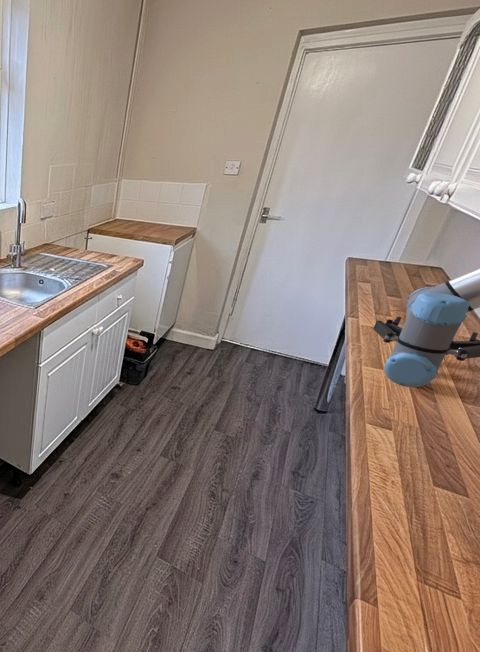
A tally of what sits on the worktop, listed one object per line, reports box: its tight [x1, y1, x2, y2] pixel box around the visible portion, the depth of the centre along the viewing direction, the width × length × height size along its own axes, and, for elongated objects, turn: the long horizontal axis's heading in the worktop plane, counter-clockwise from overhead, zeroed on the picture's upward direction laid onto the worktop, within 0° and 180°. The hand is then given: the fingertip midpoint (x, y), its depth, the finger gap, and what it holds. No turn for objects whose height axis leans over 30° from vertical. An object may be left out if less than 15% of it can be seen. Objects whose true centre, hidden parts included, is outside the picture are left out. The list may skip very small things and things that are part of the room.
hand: (433, 329), depth 107 cm, fingers open, 13 cm apart
